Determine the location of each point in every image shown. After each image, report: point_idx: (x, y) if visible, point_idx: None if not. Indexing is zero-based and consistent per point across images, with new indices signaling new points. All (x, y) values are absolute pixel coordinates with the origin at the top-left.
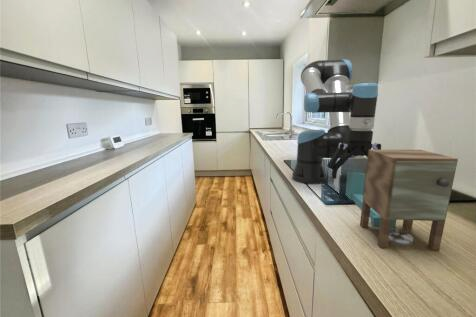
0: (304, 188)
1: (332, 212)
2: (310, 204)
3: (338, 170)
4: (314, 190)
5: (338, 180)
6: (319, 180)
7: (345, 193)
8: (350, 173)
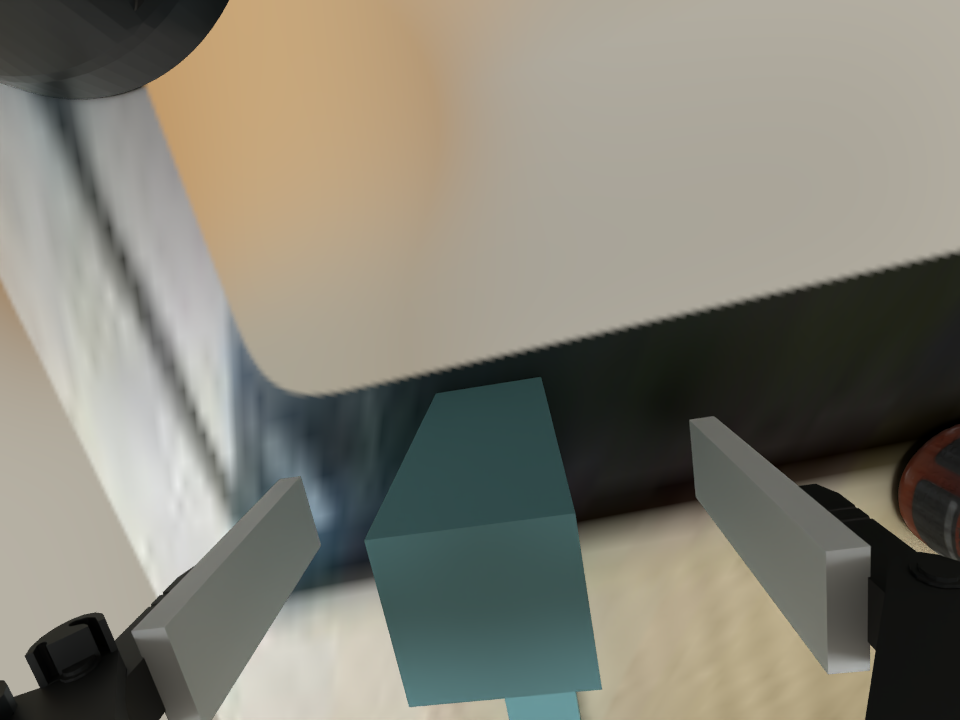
0: (71, 276)
1: (313, 699)
2: None
3: (188, 710)
4: (168, 313)
5: (280, 606)
6: (165, 37)
7: (432, 403)
8: (395, 636)
